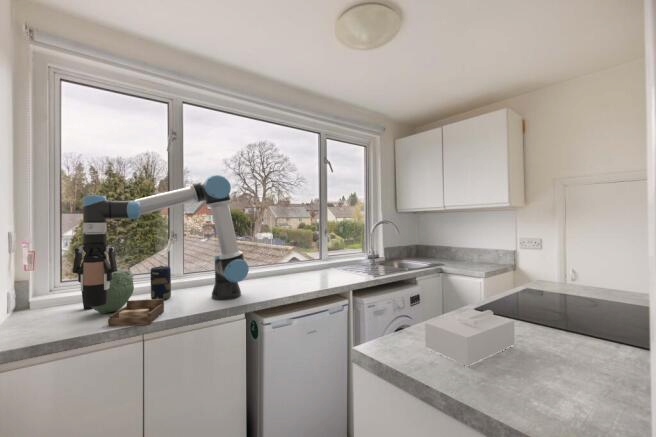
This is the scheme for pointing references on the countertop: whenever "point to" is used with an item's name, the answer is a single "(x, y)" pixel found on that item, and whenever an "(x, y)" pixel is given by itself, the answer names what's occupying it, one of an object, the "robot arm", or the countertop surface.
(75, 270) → the robot arm
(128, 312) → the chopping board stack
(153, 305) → the wooden tray
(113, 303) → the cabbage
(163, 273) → the canister
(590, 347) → the countertop surface
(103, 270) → the travel mug
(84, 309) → the drinking cup
